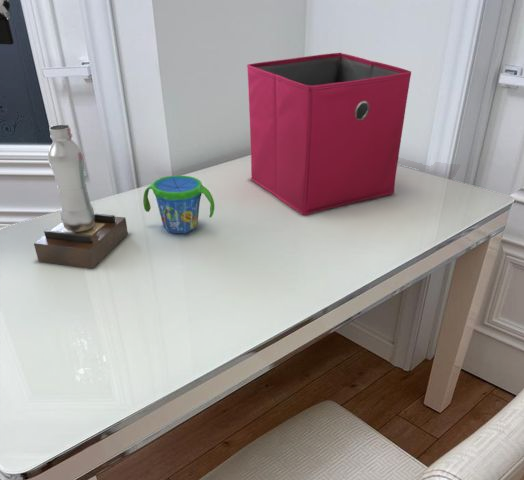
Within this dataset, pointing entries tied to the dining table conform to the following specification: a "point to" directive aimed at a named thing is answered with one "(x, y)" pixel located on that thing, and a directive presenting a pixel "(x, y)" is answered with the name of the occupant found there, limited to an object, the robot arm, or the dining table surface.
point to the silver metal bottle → (70, 180)
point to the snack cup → (178, 202)
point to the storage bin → (326, 129)
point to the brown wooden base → (82, 242)
